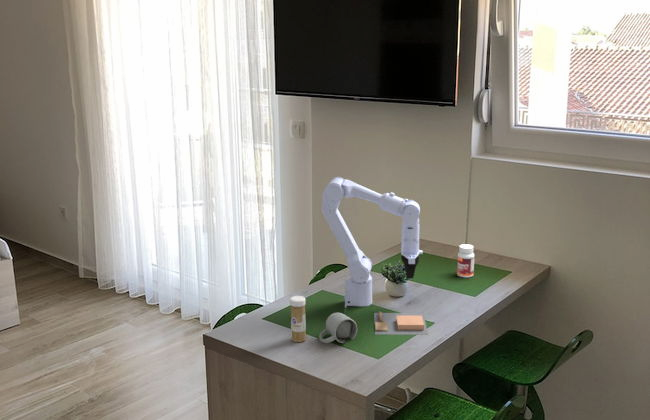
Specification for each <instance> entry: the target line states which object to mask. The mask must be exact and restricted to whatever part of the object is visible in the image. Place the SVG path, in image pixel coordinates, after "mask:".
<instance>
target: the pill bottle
mask: <svg viewBox="0 0 650 420" xmlns="http://www.w3.org/2000/svg"><path fill="white" fill-rule="evenodd" d="M458 249H459V251H458V253H457V264H456V267H457V268H456V274H457V276H458V277H461V278H471V277H473V276H474V274H475V273H474V272H475V269H474V268H475V253H474V251H475V250H474V245H472V244H466V243H465V244H464V243H463V244H460V245H459V248H458Z"/></svg>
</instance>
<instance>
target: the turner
mask: <svg viewBox="0 0 650 420" xmlns="http://www.w3.org/2000/svg"><path fill="white" fill-rule="evenodd" d="M377 313H378V315H379V322H375V323H374V330H375V329H376V331H387V322H383V318H382V313H383V311H378V312H377Z"/></svg>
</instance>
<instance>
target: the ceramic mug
mask: <svg viewBox="0 0 650 420" xmlns="http://www.w3.org/2000/svg"><path fill="white" fill-rule="evenodd" d="M327 334H329V335H330V336H329V337H327V338H324V337H325V336H326V335H327ZM357 334H358V326H357V323H356V321H355V320H353V319H352V318H351V317H349V316H348V315H346V314H344V313H342V312H333V313H331V314H330V315H329V316H328V317H327V319H326V321H325V328H324V329H323V330H322V331H320V333H319V335H318V338H319V341H320V342H321V343H322V344H330V343H332V342H334V341H337V342H338V343H340V344H346V339H347V338H349V339H351V341H352V340H354V339H355V337H356V336H357Z"/></svg>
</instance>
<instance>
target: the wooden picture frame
mask: <svg viewBox="0 0 650 420" xmlns="http://www.w3.org/2000/svg"><path fill="white" fill-rule="evenodd" d="M397 328H398V330H424V322H423V318H422V316H397Z"/></svg>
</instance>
